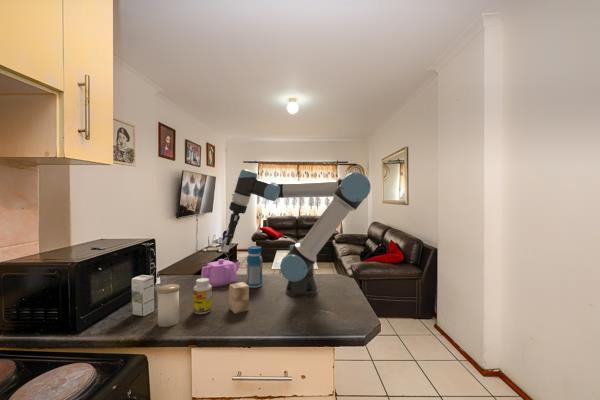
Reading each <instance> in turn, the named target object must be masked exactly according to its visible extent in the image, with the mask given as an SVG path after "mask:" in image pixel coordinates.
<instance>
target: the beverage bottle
mask: <svg viewBox="0 0 600 400" xmlns="http://www.w3.org/2000/svg"><path fill="white" fill-rule="evenodd" d="M261 253H262V246H259V245H258V246H257V245H253V246H249V247H248V248H247V254H248V255H247V258H246V265H245V266H246V267H245V268H246V284H247V285H248V286H249V288H250V289H251V288H260V287H262V286H263V267H264V266H263V265H264V264H263V257H262V255H261Z"/></svg>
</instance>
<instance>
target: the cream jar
mask: <svg viewBox="0 0 600 400" xmlns="http://www.w3.org/2000/svg"><path fill="white" fill-rule="evenodd" d="M156 292H157V326H158V327H162V328H167V327H169V328H170V327H172V326H175V325H177V324H178V323H179V322H180V284H178V283H169V284H164V285H160V286H158V287H157V288H156Z"/></svg>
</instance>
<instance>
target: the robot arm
mask: <svg viewBox="0 0 600 400" xmlns="http://www.w3.org/2000/svg"><path fill="white" fill-rule="evenodd" d="M237 178H238V179H237V181H236V185H235V188H234V191H233V193H231V196H232V198H231V201H230V205H229V207H228V208H229V210H230V211H232V213H231V214H230V218H229V223H228V227H227V230H226V232H225V236H224V239H223V246H222V249H221V252H223V253H229V252H230V248H231V245H232V242H233V239H234V236H235V232H236V228H237V226H238V224H239V221H240V219H241V216H240V214H241V215H243V214H245V213H246V212H247V208H248V205H249V202H250V199H251V196H252V195H255V196H257V197H261V198H263V199H265V200H267V201H271V202H275V201H277V199H286V198H287V199H288V198H289V199H290V198H291V199H292V198H328V197H330V198H332V197H333V199H332V200H331V202H330V203H329V205H328V206H327V207H326V208H325V210H324V211H323V213H322V214H320V216H319V218H318V219H317V220H316V221H315V223H314V224H313V226H312V227H311V228H310V229H309V231H308V232H307V234H305V236H304V237H303V239H302V240H301V241H300V242H297V243H295V244H290V245H289V251H288V253H287V254H286V255H285V256H283V258H282V259H281V261H280V265H279V266H280V267H279V269H280V273H281V275H282V276H283V277H284V278H285V279H286V280H287V284H286V286H285V293H286V295H288V296H290V297H295V298H309V297H313V296H316V295H317V293H318V285H317V283H316V280H315V277H314V266H315V263H317V260H318V259H317V255H318V254H319V252H320V251H321V250H322V248H323V247H324V246H325V245H326V243H328V241H329V239H330V238H331V237H332V236H333V234H334V232H336V230H337V229H338V227H339V226H340V224H342V222H343V221H344V220H345V219H346V217H347V216H348V215H349V213H350V212H351V211H353V212H354V211H356V210H357V209H358V208H359V206H361V204H362V203H363V201H364V200H365V199H366V198H367V197H368V196H369V195H370V193H371V187H372V185H371V182H370V180H369V178H368V177H367V176H366V175H364V174H363V173H360V172H350V173H348V174H347V175H345V176H344V177H342V178H341V177H339V178H337V179H336V180H317V181H315V180H311V181H289V182H272V181H268V180H265V179H260V178H258V173H256V172H254V171H252V170H249V169H246V168H243V169H241V171H240V173H239V175H238V177H237Z"/></svg>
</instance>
